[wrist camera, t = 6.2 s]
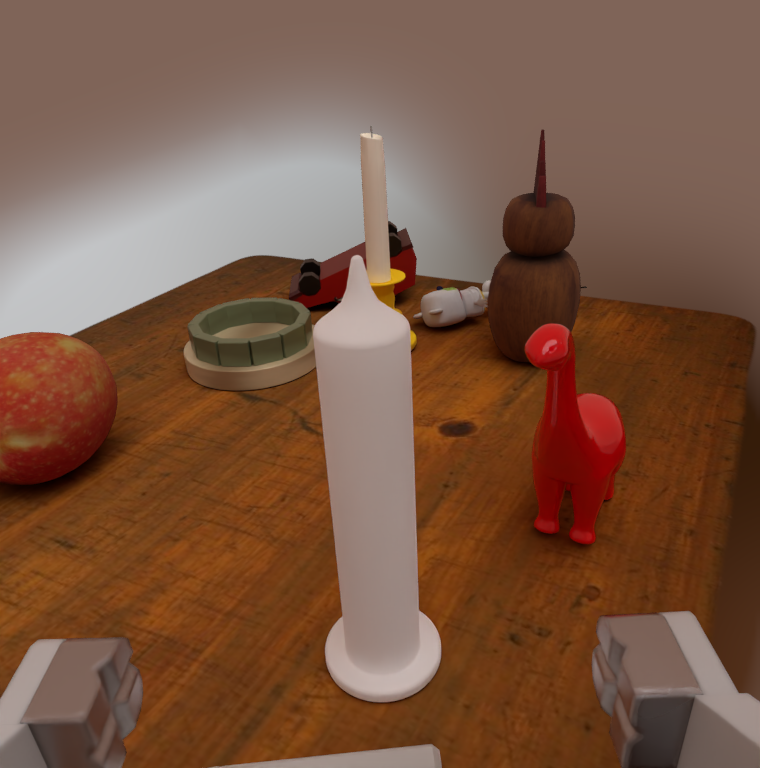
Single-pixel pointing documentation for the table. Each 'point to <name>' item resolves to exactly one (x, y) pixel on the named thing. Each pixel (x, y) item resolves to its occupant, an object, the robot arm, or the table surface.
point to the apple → (51, 405)
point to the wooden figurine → (534, 268)
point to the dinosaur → (572, 439)
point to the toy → (453, 305)
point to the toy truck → (334, 272)
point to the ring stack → (250, 344)
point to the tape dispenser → (360, 759)
